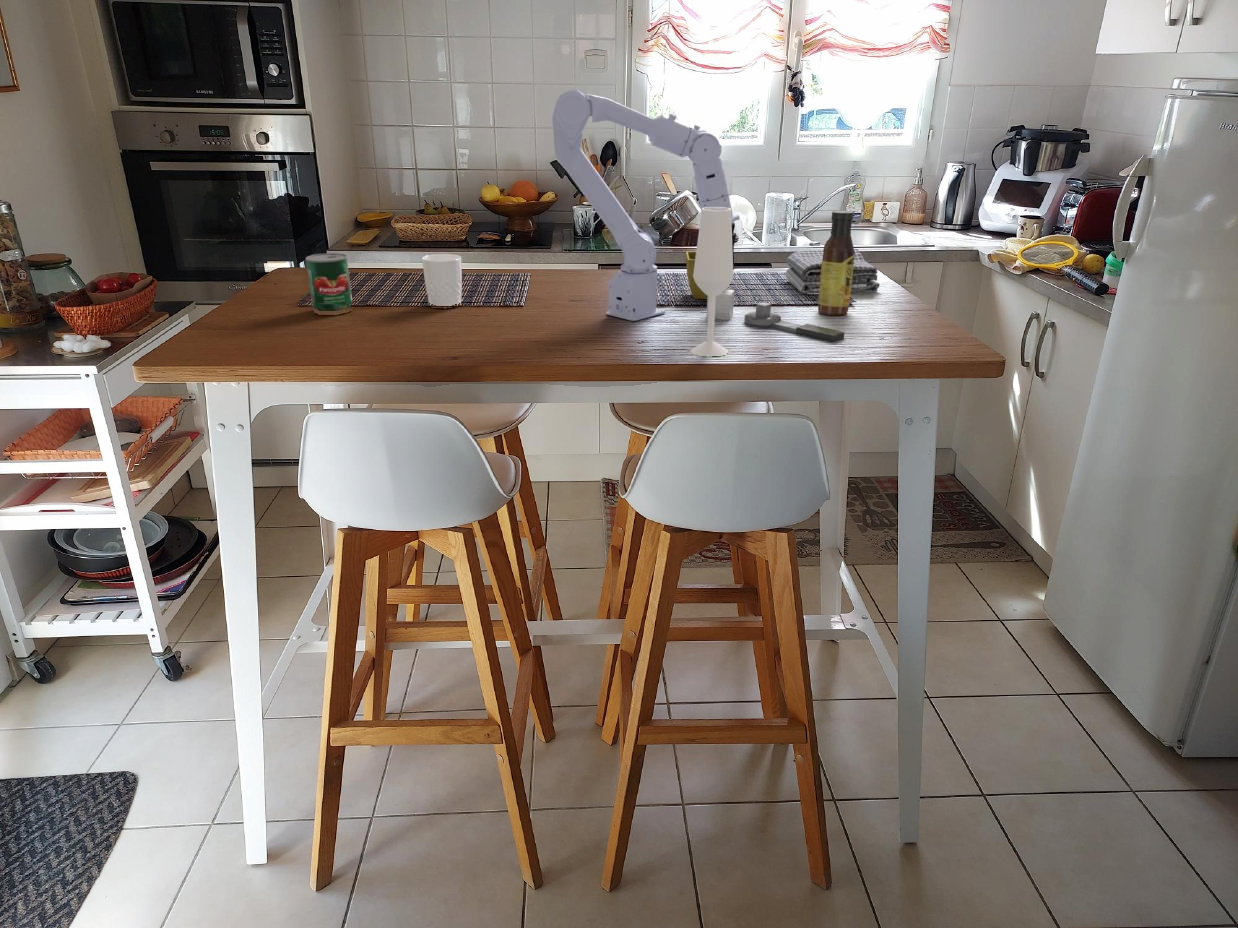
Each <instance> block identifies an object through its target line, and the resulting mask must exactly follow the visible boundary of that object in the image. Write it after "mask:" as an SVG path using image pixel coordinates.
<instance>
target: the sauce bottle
mask: <svg viewBox="0 0 1238 928" xmlns="http://www.w3.org/2000/svg"><path fill="white" fill-rule="evenodd" d="M853 219H854V212H853V211H851V210H834V211H832V212H831V222H832V223H831V230H830V236H829V238H828V240H826V242H825V244H824V247H823V260H822V266H821V276H820V287H819V294H818V300H817V304H818V306H817V311H818V312H819V313H820V314H822V315H828V316H841V315H846V314H848V313H849V307H850V303H851V294H852V293H851V286H852V277H853V267H854V259H855V251H854V249H855V247H854V244H853V240H852V222H853Z"/></svg>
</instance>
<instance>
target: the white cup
mask: <svg viewBox="0 0 1238 928" xmlns="http://www.w3.org/2000/svg"><path fill="white" fill-rule="evenodd" d="M421 262H422V268H423V276H424V278H423V279H424V283H425V290H426V295H427V300H428V301H427V302H428V304H429V303H430V304H433V305H436V306H452V305H455V304H459V303H461V301H462V293H463V289H462V287H463V282H462V281H463V279H462V278H463V277H462V256H461V255H458V254H455V253H454V254H453V253H436V254H428V255H425V256H422V258H421ZM462 302H463V301H462Z"/></svg>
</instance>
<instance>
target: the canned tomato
mask: <svg viewBox="0 0 1238 928" xmlns="http://www.w3.org/2000/svg"><path fill="white" fill-rule="evenodd" d="M305 262H306V270H307V277H308V282H309V283H308V285H309V290H310V297H311V304H312V309H313V308H314V309H317V310H319V311H338V310H342V309H347V308H350V306H351V305H352V303H353V295H352V287H351V280H350V272H349V271H350V270H349V263H348V255H346V254H345V253H337V252H336V253H335V252H333V253H332V252H328V253H317V254H310V255H307V256H306V257H305Z"/></svg>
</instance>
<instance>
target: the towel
mask: <svg viewBox="0 0 1238 928" xmlns="http://www.w3.org/2000/svg"><path fill="white" fill-rule="evenodd" d="M823 250H824V249H823ZM823 250H815V249H814V250H799V251H795V252H793V253H791V254H790V255H789V256H788V257H787V259H786V264H787V265H788V266H789V268H787V269H786V270H785V274H784V275H785V278H786V279H787V280H788V281H789V283H791V285H793V286H794V288H796V289H797V290H798V291H799V292H800V293H801V294H804V293H805V295H808V294H807V293H819V287H820V276H821V266H822V260H823ZM854 251H855V259H854V267H853V277H852V286H851V294H862V293H863V294H864V293H865V294H866V293H868V294H869V293H872V294H875V293H877V292H878V289H879V287H880V282H877V281H878V275H877V274H878V268H877V267H876V266H874V265H873V264H871V263H870V262H868V261H866V260H865V259H864V255H862V253H861V251H859V249H858V248H854Z"/></svg>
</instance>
